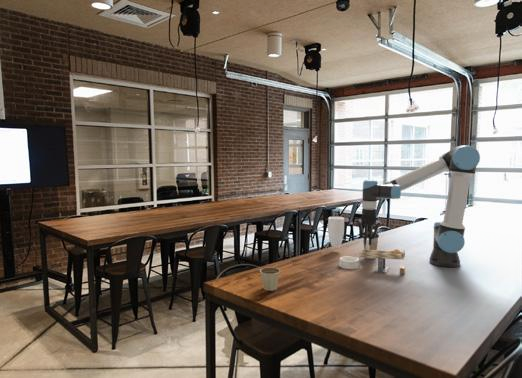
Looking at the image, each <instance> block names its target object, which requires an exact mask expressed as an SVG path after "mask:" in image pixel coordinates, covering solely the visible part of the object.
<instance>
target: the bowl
mask: <svg viewBox="0 0 522 378" xmlns="http://www.w3.org/2000/svg"><path fill="white" fill-rule="evenodd" d="M338 261H339V262H338V263H339V265H338V266H339V267H341V268H342V269H347V270H354V269H355V270H356V269H359V267H360V258H358V257H356V256H349V255H348V256H347V255H346V256H341V257H340V258H339V259H338Z"/></svg>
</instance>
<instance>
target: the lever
mask: <svg viewBox="0 0 522 378" xmlns="http://www.w3.org/2000/svg"><path fill="white" fill-rule="evenodd" d="M393 251H394V250H378V249H377V250H364V249H361V251H359V252H358V257H359V258H365V257H366V258H365V259H367V258H375V259H378V258H383V259H385V260H403V261H404V259H405V256H406V254H405V252H406V251H405V250H402V251H400V250H399V251H400V254H393Z"/></svg>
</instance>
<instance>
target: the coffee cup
mask: <svg viewBox="0 0 522 378" xmlns="http://www.w3.org/2000/svg"><path fill="white" fill-rule="evenodd" d="M373 233H374V231H372V236H373ZM379 237H380V236H379V233H378V232H377V233H376V237H375V238H374V239H372V244H371V245H370V247H369V250H378V244H379V241H378V239H379ZM367 238H368V239H369V230H368V233H367ZM363 243H364V238H363ZM363 250H366V245H364V244H363ZM364 258H365V259H368V260H375V259H376V258H366V257H364Z"/></svg>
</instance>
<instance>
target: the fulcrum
mask: <svg viewBox="0 0 522 378" xmlns="http://www.w3.org/2000/svg"><path fill="white" fill-rule="evenodd" d="M389 269H390V266H388V265H386V259H383V258H377V265H376V267H375V269H374V270H373V274H375V273H376V274H383V275H387V273H388V271H389ZM405 273H406V265H400V268H399V275H403V276H404V275H405Z"/></svg>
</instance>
